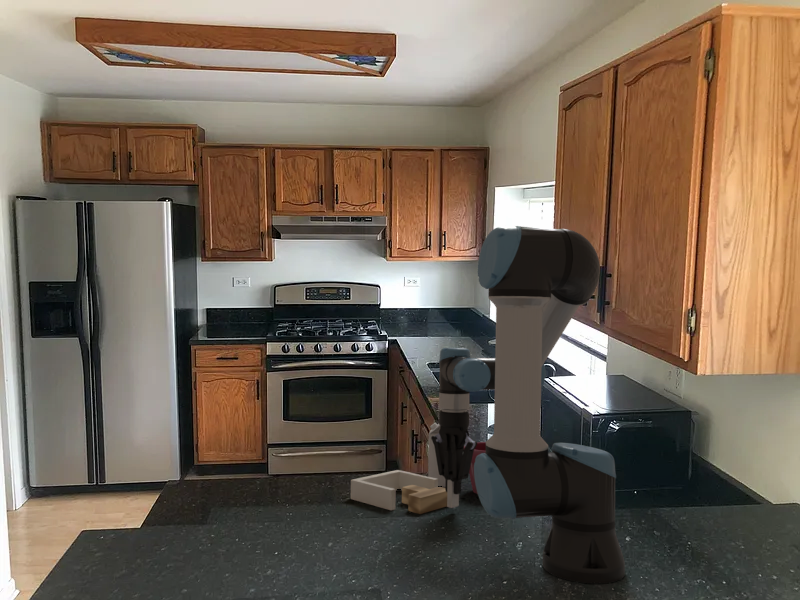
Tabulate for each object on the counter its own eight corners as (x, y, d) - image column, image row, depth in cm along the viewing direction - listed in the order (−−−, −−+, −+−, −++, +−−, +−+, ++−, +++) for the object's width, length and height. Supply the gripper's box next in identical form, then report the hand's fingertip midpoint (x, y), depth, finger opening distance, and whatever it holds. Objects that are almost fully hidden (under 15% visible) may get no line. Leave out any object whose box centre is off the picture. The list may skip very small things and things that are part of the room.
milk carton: (453, 482, 193) (453, 417, 194) (452, 487, 186) (453, 421, 187) (429, 481, 194) (430, 417, 194) (427, 486, 186) (428, 420, 187)
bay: (437, 497, 175) (438, 478, 175) (391, 510, 162) (391, 490, 162) (397, 487, 185) (397, 469, 185) (350, 498, 172) (350, 479, 172)
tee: (451, 505, 168) (451, 489, 168) (420, 514, 159) (420, 497, 159) (422, 497, 175) (422, 482, 175) (390, 505, 166) (391, 489, 166)
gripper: (484, 411, 159) (483, 508, 158) (443, 406, 168) (442, 498, 167) (465, 414, 154) (464, 515, 153) (424, 408, 163) (423, 504, 162)
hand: (452, 506), depth 160 cm, fingers closed
